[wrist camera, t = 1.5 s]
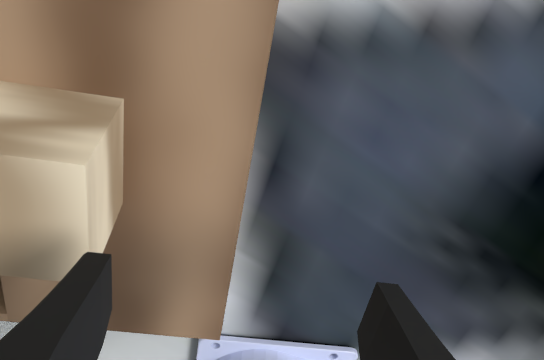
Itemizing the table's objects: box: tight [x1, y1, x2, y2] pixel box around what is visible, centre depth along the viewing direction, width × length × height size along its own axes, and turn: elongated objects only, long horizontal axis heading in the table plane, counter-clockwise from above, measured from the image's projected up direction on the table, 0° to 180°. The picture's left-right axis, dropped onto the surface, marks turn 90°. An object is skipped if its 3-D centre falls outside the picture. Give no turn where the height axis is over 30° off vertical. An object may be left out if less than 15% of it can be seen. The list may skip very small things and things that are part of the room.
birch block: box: [0, 81, 124, 281], centre depth 16 cm, size 4×4×4 cm
